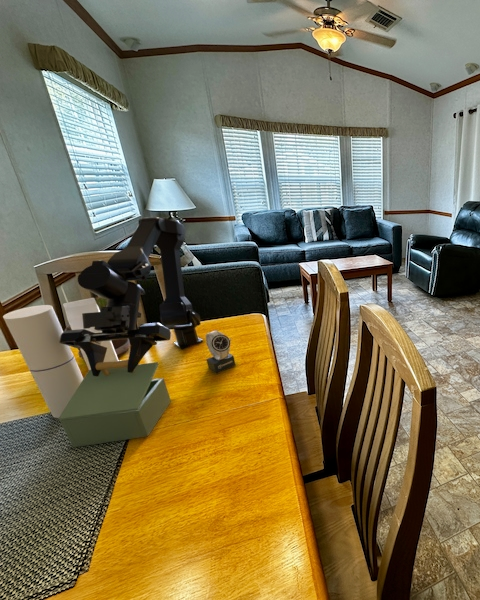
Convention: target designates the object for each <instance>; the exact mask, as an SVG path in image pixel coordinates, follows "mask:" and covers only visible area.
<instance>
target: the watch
mask: <svg viewBox="0 0 480 600" xmlns="http://www.w3.org/2000/svg"><path fill="white" fill-rule="evenodd" d="M205 341H206V342H205V344H206V346H207V349H208V351H209V353H210V355H212V356H211V357H209V358H206V365H207V368H208V370H210V372H212V373H214V374H215V375H217V374H220V373H222V372H224V371H226V370H228V369H230V368H232V367H235V366H236V362H235V357H234V355H233V354H231V353H230V351H231V341H232V339H231V338H230V337H229V336H227V335H225V334H224V333H223V332H221V331H218V330H212V331H211V332H207V333H206V334H205Z"/></svg>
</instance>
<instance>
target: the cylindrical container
mask: <svg viewBox="0 0 480 600" xmlns="http://www.w3.org/2000/svg"><path fill="white" fill-rule="evenodd" d="M2 318H3V320H4V322H5V324H6V327H7V328H8V331H9V332H10V334H11V336H12V338H13V340H14V342H15V344H16V346H17V348H18V350H19V352H20V354H21V357H22V358H23V360H24V362H25V364H26V366H27V368H28V370H29V372H30V374H31V376H32V378H33V379H34V382H35V384H36V386H37V388H38V390H39V392H40V394H41V396H42V398H43V400H44V402H45V404H46V406H47V408H48V410H49V412H50V414H51V416H52V417H53V418H55V419H58V418H59V417H60V415H61V413H62V412H63V410H64V409H65V407H66V406H67V404H68V403H69V401H70V399H71V398H72V396H73V395H74V393H75V392H76V390H77V388H78V387H79V385H80V384H81V382H82V381H83V379H84V378H85V377H84V376H83V374H82V371H81V370H80V367H79V365H78V362H77V361H76V358H75V356H74V353H73V351H72V348H71V346H68V345H64V344H61V343H59V341H60V336H61V334H62V333H63V332H64V330H63V328H62V325H61V323H60V321H59V318H58V315H57V313H56V312H55V309H54V307H53V305H52V304H51V305H50V304H39V305H33V306H28V307H22V308H18V309H15V310H12V311H9V312H8V313H5V314H4V315H3V316H2Z"/></svg>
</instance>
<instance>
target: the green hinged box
mask: <svg viewBox="0 0 480 600" xmlns="http://www.w3.org/2000/svg"><path fill="white" fill-rule="evenodd" d="M171 403H172V399H171V397H170V394H169V391H168V388H167V384H166V382H165V379H164V378H163V377H161V378H154V379H153V378H152V381H151V383H150V385H149V387H148V390H147V392H146V394H145V396H144V399H143V401H142V403H141V405H140V408H139V410H135V411H127V412H120V413H112V414H105V415H97V416H90V417H82V418H75V419H67V420H59V421H60V424H61V426H62V429H63V430H64V432H65V434H66V436H67V438H68V441H69V442H70V444H71V446H72V448H78V447H85V446H92V445H98V444H105V443H112V442H119V441H125V440H133V439H139V438H147V437H149V436H150V434H151V433H152V431H153V430H154V428H155V427H156V425H157V424H158V422H159V420H160V419H161V417H162V416H163V414H164V413H165V411H166V410H167V408H168V407H169V406H170V404H171Z"/></svg>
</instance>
